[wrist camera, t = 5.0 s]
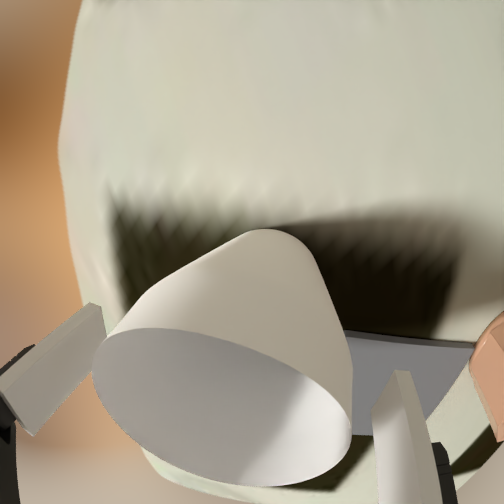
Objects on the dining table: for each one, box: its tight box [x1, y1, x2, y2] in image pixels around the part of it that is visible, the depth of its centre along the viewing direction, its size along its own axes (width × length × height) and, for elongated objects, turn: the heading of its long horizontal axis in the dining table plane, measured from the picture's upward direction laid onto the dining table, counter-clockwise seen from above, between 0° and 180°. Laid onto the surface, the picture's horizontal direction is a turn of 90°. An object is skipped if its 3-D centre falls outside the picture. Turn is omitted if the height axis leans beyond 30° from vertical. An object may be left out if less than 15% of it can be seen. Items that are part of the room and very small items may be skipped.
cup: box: [91, 229, 353, 487], centre depth 13 cm, size 9×9×12 cm
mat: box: [344, 330, 475, 435], centre depth 19 cm, size 12×12×1 cm
